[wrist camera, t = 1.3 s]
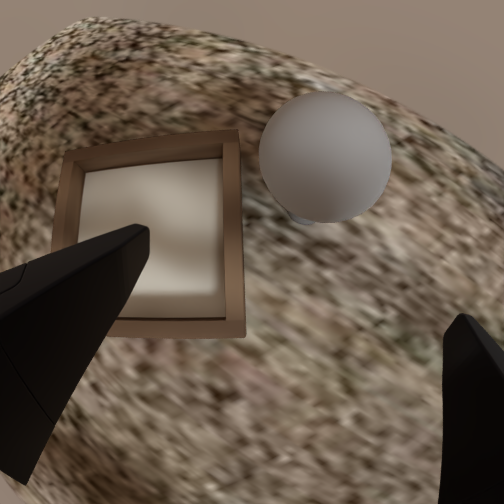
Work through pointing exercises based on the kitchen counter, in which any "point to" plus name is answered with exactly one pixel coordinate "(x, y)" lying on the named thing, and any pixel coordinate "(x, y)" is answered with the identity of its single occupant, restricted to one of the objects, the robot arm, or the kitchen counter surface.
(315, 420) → the kitchen counter surface
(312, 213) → the lightbulb
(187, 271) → the walnut tray
